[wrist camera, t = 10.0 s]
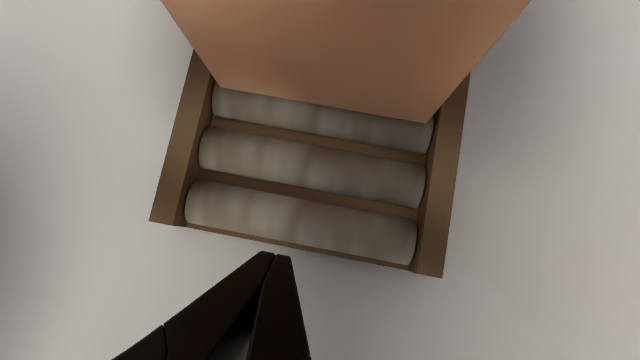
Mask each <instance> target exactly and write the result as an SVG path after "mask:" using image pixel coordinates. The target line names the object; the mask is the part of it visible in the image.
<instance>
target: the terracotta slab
mask: <svg viewBox="0 0 640 360" xmlns="http://www.w3.org/2000/svg"><path fill="white" fill-rule="evenodd" d="M530 1H531V0H161V2H162V3H163V5H164V6H165V8H166V9H167V10H168V12H169V13H170V15H171V16H172V18H173V19H174V21H175V22H176V24H177V25H178V26H179V28H180V29H181V31H182V32H183V34H184V35H185V37H186V38H187V39H188V41H189V42H190V44H191V45H192V47H193V48H194V50H195V51H196V52H197V54H198V55H199V57H200V58H201V60H202V61H203V63H204V64H205V65H206V67H207V68H208V70H209V71H210V73H211V74H212V76H213V77H214V79H215V80H216V81H217V83H218V84H219V86H220V87H222V88H227V89H233V90H239V91H244V92H250V93H256V94H261V95H267V96H273V97H278V98H284V99H290V100H295V101H301V102H307V103H312V104H318V105H324V106H329V107H335V108H340V109H346V110H352V111H357V112H363V113H369V114H374V115H380V116H386V117H391V118H397V119H403V120H408V121H414V122H420V123H425V124H426V123H427V122H428V120H429V119H430V118H431V117H432V116H433V115H434V113H435V112H436V111H437V110H438V109H439V108H440V106H441V105H442V104H443V103H444V102H445V100H446V99H447V98H448V97H449V96H450V95H451V93H452V92H453V91H454V90H455V89H456V88H457V86H458V85H459V84H460V83H461V82H462V81H463V79H464V78H465V77H466V76H467V75H468V74H469V72H470V71H471V70H472V69H473V68H474V66H475V65H476V64H477V63H478V62H479V61H480V59H481V58H482V57H483V56H484V55H485V54H486V52H487V51H488V50H489V49H490V48H491V47H492V45H493V44H494V43H495V42H496V41H497V40H498V38H499V37H500V36H501V35H502V34H503V33H504V31H505V30H506V29H507V28H508V27H509V25H510V24H511V23H512V22H513V21H514V20H515V18H516V17H517V16H518V15H519V14H520V13H521V11H522V10H523V9H524V8H525V7H526V6H527V4H528V3H529V2H530Z"/></svg>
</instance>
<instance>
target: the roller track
mask: <svg viewBox="0 0 640 360" xmlns="http://www.w3.org/2000/svg"><path fill="white" fill-rule="evenodd" d="M469 79H470V72H469V74H468V75H467V76H466V77H465V78H464V79H463V81H462V82H461V83H460V84H459V85H458V86H457V88H456V89H455V90H454V91H453V92H452V93H451V95H450V96H449V97H448V98H447V99H446V100H445V102H444V103H443V104H442V105H441V106H440V108H439V109H438V110H437V111H436V112H435V113H434V115H433V116H432V117H431V118H430V119H429V120H428V122H427V123H426V124H425V123H420V122H414V121H408V120H403V119H397V118H391V117H386V116H380V115H374V114H369V113H363V112H357V111H352V110H346V109H340V108H335V107H329V106H324V105H318V104H312V103H307V102H301V101H295V100H290V99H284V98H278V97H273V96H267V95H261V94H256V93H250V92H244V91H239V90H233V89H227V88H222V87H220V86H219V84H218V83H217V81H216V80H215V79H214V77H213V76H212V74H211V73H210V71H209V70H208V68H207V67H206V65H205V64H204V63H203V61H202V60H201V58H200V57H199V55H198V54H197V52H196V51H195V50H194V49H193V53H192V57H191V61H190V65H189V69H188V72H187V76H186V80H185V84H184V88H183V92H182V95H181V99H180V103H179V107H178V111H177V115H176V118H175V122H174V126H173V130H172V134H171V138H170V141H169V145H168V149H167V153H166V157H165V161H164V164H163V168H162V172H161V176H160V180H159V184H158V187H157V191H156V195H155V199H154V203H153V207H152V210H151V214H150V218H149V221H151V222H156V223H161V224H167V225H172V226H181V227H189V228H194V229H199V230H204V231H209V232H214V233H220V234H225V235H230V236H235V237H240V238H245V239H250V240H255V241H261V242H266V243H271V244H276V245H281V246H286V247H291V248H296V249H301V250H307V251H312V252H317V253H322V254H327V255H332V256H337V257H342V258H348V259H353V260H358V261H363V262H368V263H373V264H378V265H383V266H388V267H394V268H399V269H404V270H409V271H412V272H414V273H417V274H422V275H427V276H432V277H437V278H442V276H443V269H444V261H445V254H446V247H447V240H448V232H449V225H450V218H451V210H452V203H453V196H454V188H455V181H456V174H457V166H458V159H459V152H460V145H461V137H462V130H463V123H464V115H465V108H466V101H467V93H468V86H469Z"/></svg>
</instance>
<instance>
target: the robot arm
mask: <svg viewBox="0 0 640 360" xmlns="http://www.w3.org/2000/svg"><path fill="white" fill-rule="evenodd" d="M163 326H164V327H163ZM163 326H162V325H161V326H159V327H158V328H156V329H155V330H154V331H152V332H151V333H150V334H148V335H147V336H146V337H144V338H143V339H141V340H140V341H139V342H137V343H136V344H134V345H133V346H132V347H130V348H129V349H127V350H126V351H124V352H123V353H121V354H120V355H118V356H117V357H115V358H113V359H112V360H312V359H311V357H310V351H309V346H308V341H307V336H306V331H305V326H304V321H303V316H302V311H301V306H300V301H299V296H298V291H297V286H296V281H295V276H294V272H293V267H292V262H291V258H290V257H289V256H285V255H280V254H277V255H275V254H274V253H270V252H265V251H260V252H259V253H257V254H256V255H255V256H253V257H252V258H251V259H249V260H248V261H247V262H245V263H244V264H243V265H241V266H240V267H239V268H237V269H236V270H235V271H233V272H232V273H231V274H229V275H228V276H227V277H225V278H224V279H223V280H221V281H220V282H219V283H217V284H216V285H215V286H213V287H212V288H211V289H209V290H208V291H207V292H205V293H204V294H203V295H201V296H200V297H199V298H197V299H196V300H195V301H193V302H192V303H191V304H189V305H188V306H187V307H185V308H184V309H183V310H181V311H180V312H179V313H177V314H176V315H175V316H173V317H172V318H171V319H169V320H168V321H167V322H165V323H164V325H163Z"/></svg>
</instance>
